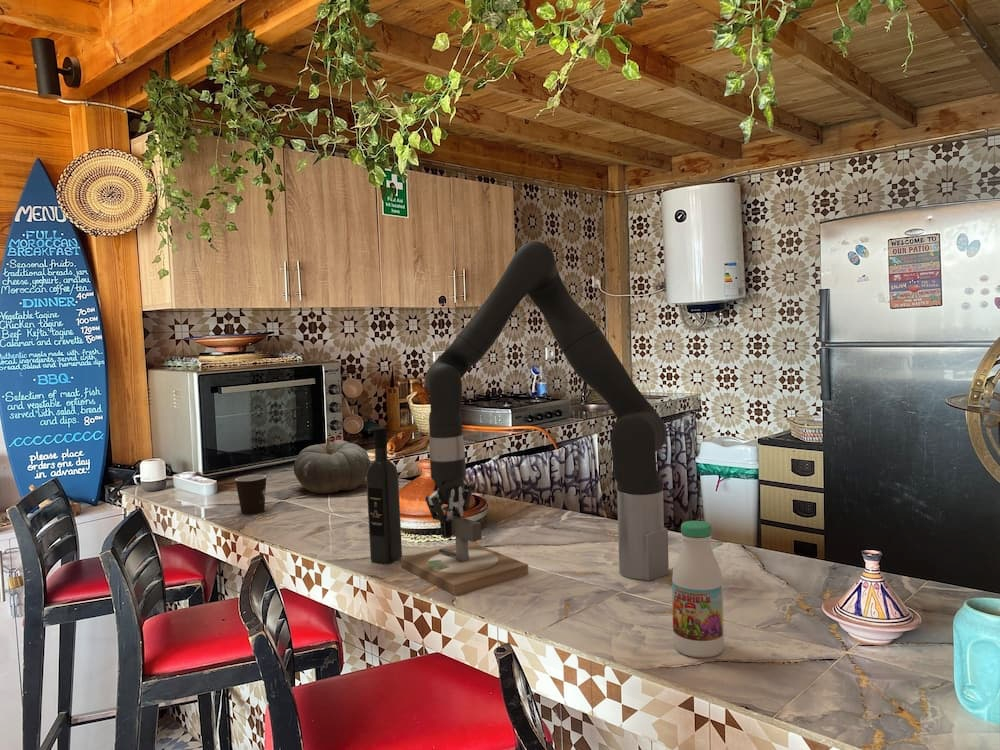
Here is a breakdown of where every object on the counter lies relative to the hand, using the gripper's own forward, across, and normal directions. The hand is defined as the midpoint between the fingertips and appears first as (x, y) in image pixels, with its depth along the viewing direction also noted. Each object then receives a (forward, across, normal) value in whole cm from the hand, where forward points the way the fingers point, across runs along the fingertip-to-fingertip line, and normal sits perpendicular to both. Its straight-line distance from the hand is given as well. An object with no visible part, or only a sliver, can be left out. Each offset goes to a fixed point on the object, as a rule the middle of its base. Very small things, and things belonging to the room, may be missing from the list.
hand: (452, 534), depth 159 cm
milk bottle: (+8, -12, -59) cm, 60 cm away
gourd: (+7, +42, +83) cm, 94 cm away
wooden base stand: (+7, -1, -3) cm, 8 cm away
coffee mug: (+7, +12, +84) cm, 85 cm away
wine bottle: (+7, -3, +17) cm, 19 cm away
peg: (+5, -1, -2) cm, 5 cm away
